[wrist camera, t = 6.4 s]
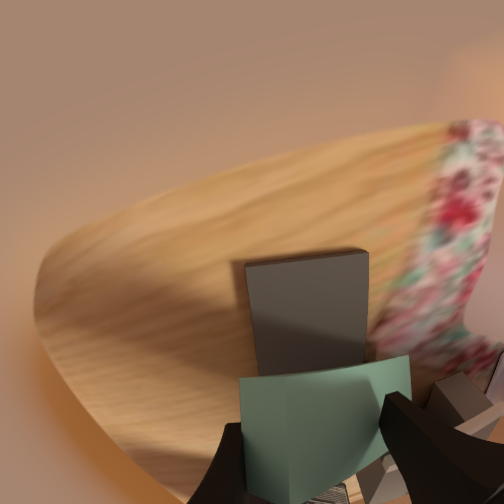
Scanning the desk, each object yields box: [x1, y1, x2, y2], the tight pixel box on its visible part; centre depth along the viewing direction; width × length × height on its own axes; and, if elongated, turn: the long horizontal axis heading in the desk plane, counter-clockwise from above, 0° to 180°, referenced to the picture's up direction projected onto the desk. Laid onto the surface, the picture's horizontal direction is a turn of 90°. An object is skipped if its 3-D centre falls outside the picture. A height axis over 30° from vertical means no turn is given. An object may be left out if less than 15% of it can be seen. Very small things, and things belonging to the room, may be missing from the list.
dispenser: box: [356, 371, 504, 504], centre depth 14 cm, size 10×7×6 cm
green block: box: [239, 355, 412, 504], centre depth 11 cm, size 2×10×5 cm
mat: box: [245, 250, 369, 376], centre depth 15 cm, size 6×12×1 cm, turn 7°
